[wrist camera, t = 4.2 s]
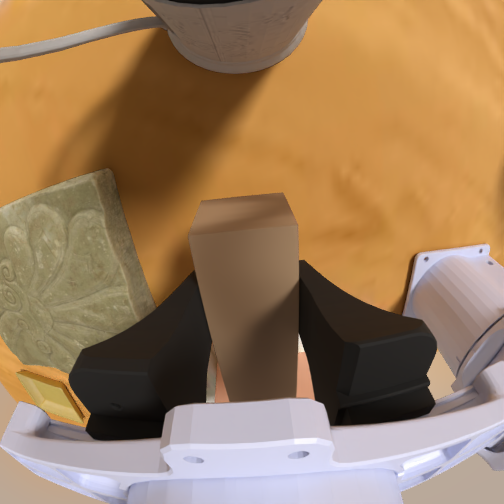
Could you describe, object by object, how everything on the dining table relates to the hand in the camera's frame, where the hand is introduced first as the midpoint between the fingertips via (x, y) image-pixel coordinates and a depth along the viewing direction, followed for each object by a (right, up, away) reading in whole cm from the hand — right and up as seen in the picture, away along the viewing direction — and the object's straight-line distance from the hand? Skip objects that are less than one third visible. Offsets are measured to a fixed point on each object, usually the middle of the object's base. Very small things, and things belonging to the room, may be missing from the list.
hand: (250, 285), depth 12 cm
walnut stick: (0, -2, +3) cm, 3 cm away
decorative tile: (-18, -2, +9) cm, 20 cm away
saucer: (-27, -17, +17) cm, 36 cm away
